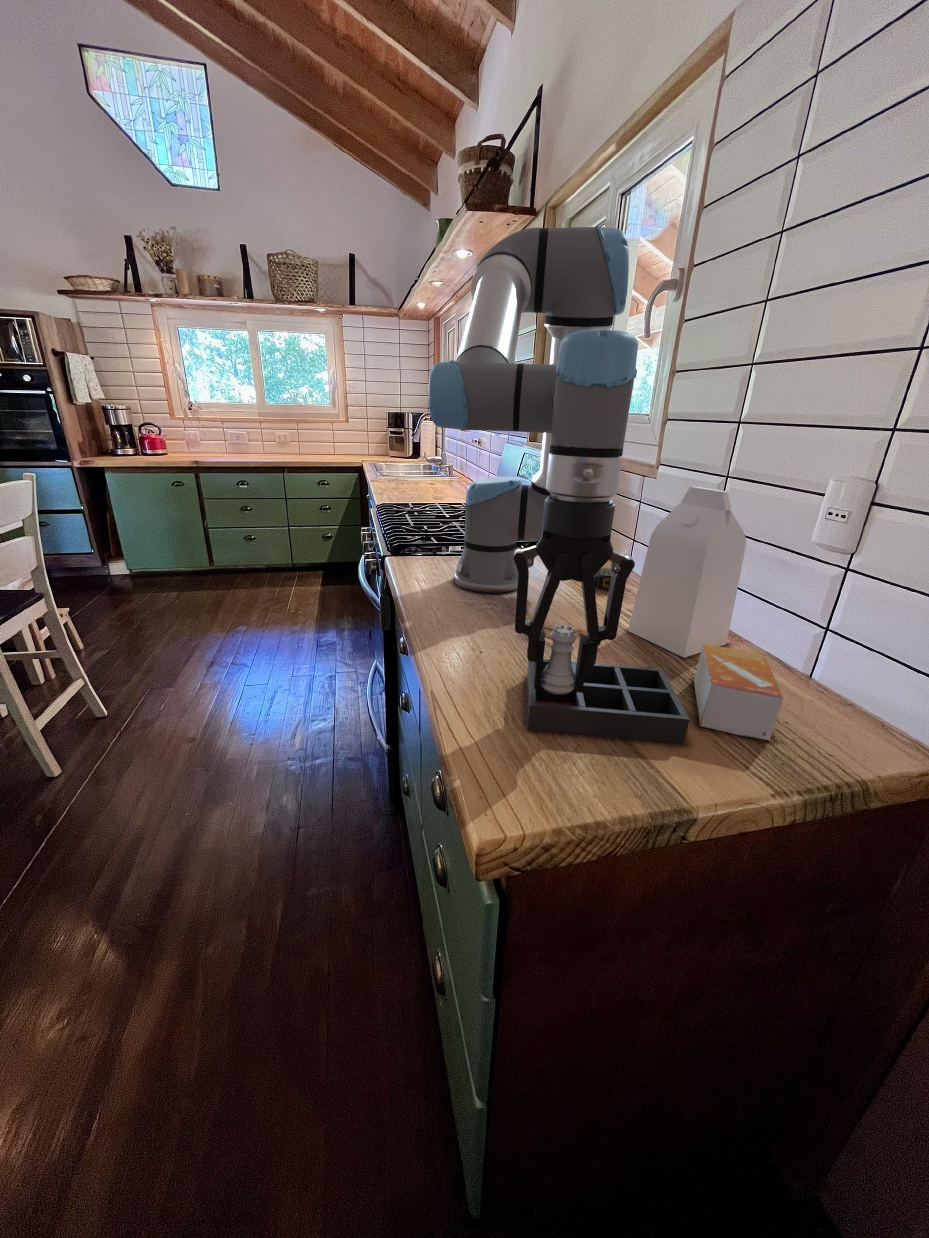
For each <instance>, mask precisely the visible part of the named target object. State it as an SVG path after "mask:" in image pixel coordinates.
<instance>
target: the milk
mask: <svg viewBox="0 0 929 1238" xmlns="http://www.w3.org/2000/svg"><path fill="white" fill-rule="evenodd" d="M731 510H732V507H731V501H730V494H729V491H728V490H721V489H714V488H708V487H703V486H694V485H693V486H689V488H688V489H687V491H686V492H685V494H684V496H683V498H682V499H681V501H680V503H678V504H677V505H676V506H675V507H674V508H673V509H672V510H671V511H670V512H669V513H668V514H667V515H666V516H665V517H663V519H662V520H661V521H660V522H659V523H658V524H657V525H656V526H655V528H654V529H653V531H652V532H651V535H650V537H649V542H648V545H647V550H646V555H645V558H644V561H643V566H642V570H641V575H640V579H639V583H638V587H637V591H636V596H635V600H634V603H633V607H632V612H631V617H630V620H629V625H628V627H627V628H628V629H627V632H628V633H631V634H634V635H636V636H638V637H640V638H642V639H644V640H646V641H647V642H650V643H653V644H654V645H656V646H658V647H660V648H663V649H665V650H667V651H669V652H671V653H673V654H675V655H677V656H680V657H682V658H684V659H685V658H687V657H691V656H695V655H697V654H701V650H702V646H703V644H707V645H713V646H719V647H723V646H725V645H727V643H728V640H729V633H730V628H731V622H732V618H733V613H734V609H735V603H736V598H737V593H738V587H739V584H740V583H739V582H740V578H741V573H742V568H743V563H744V558H745V553H746V548H747V538H746V534H745V532H744V530H743V528H742V527H741V525H740V523H739V522H738V520H737V518H736V516H735V515H734V513H733V511H731Z"/></svg>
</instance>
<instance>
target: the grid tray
mask: <svg viewBox="0 0 929 1238" xmlns="http://www.w3.org/2000/svg"><path fill="white" fill-rule="evenodd" d="M549 660H550V659H547V658H543V667H542V672H543V670H544V669H545V667H546V666H547V665H548V663H549ZM527 661H528V660H527ZM576 664H577V661H573V660H571V666H572V668H573V672H574V674H575V672H576ZM534 669H535V662H530V661H528V662H527V672H526V717H527V718H526V721H527V723H526V724H527V725H526V726H527V727H526V728H527V730H528V731H540V732H550V733H561V734H571V735H572V734H573V735H583V736H594V737H605V738H615V739H625V740H637V741H648V742H659V743H670V744H678V745H679V744H680V745H684V744H685V741H686V736H687V732H688V728H689V725H690V716H689V715H688V714H687V711H686V710H685V708H684V706H683V704H682V703H681V701H680V699H679V697H678V695H677V693H676V691H675V690H674V688H673V686H672V684H671V682H670V681H669V678H668V676H667V675H666V673H665V671H664V669H663V668H660V667H659V668H658V667H647V666H633V665H622V664H611V663H610V664H609V663H597V662H596V663H595V664H594V666H586V671H585V678H584V685H583V692H582V693H581V692H576V688H575V689H574V690H572V691H571V692H569V693H568V694H554V693H550V692H548V691H546V690H545V689H544V688H543V687H542V685H541V686H540V689H534ZM541 678H542V677H541Z"/></svg>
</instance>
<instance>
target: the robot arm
mask: <svg viewBox="0 0 929 1238" xmlns="http://www.w3.org/2000/svg"><path fill="white" fill-rule="evenodd" d="M628 242H629V241H628V238H627V235H626V233H625V232H624V231H623V230H622V229H620V228H617V227H616V228H615V227H606V226H599V225H596V226H581V227H580V226H577V227H528V228H524V229H521V230H518V231H515V232H513V233H511V234H509V235H508V236H506V237H504V238H503V239H501V240H500V241H498V242H497V243H496V244H494V245H493V246H491V248H490V249H488V250H487V251H486V252H485V254H483V256H482V258H481V259H480V260H479V261H478V264H477V265H476V267H475V270H474V272H473V276H472V279H471V283H470V297H471V301H472V303H471V305H470V309H469V313H468V317H467V318H466V319H467V320H466V322H465V326H464V330H463V334H462V336H461V340H460V344H459V346H458V347H459V348H458V351H457V354H456V358H455V359H450V360H449V361H439V362H437V363H434V364H433V366H432V367H431V369H430V373H429V378H428V389H427V390H428V397H427V398H428V410H429V416H430V419H431V422H432V423H433V425H435V426H436V427H438V428H441V429H452V430H459V431H461V432H466V431H486V432H487V431H490V432H491V431H492V432H517V433H538V434H542V445H541V455H540V465H539V470H538V471H537V472H536V473H534V474H533V475H532V477H531V484H523V482H522V478H521V477H520V476H496V477H495V476H494V477H488V478H481V479H477V480H473V481H471V482H470V483H469V484H467V487H466V493H465V502H464V509H465V510H464V536H463V540H464V541H463V550H462V554H461V556H460V558H459V560H458V561H457V564H456V570H455V572H454V583H455V585H457V586H458V587H460V588H462V589H464V590H468V591H472V592H477V593H485V594H500V593H508V592H509V593H510V592H512V591H516V600H515V601H516V602H515V618H514V631H515V633H517V634H520V635H521V634H523V635H525V636H526V637H527V639H528V640H527V650H526V659H527V661H530V662H535V669H534V689H540V686H541V676H542V667H543V659H545V657H544V656H545V647H546V636H545V635H546V634H545V632H544V631H543V628H544V625H545V623H546V620H547V617H548V614H549V612H550V608H551V606H552V603H553V601H554V597H555V595H556V591H557V590H558V588H559V586H560V583H561V582H566V581H574V582H578V583H580V584H581V591H582V599H583V608H584V616H585V617H584V618H585V625H586V626H585V627H586V635H585V634H580V635H579V644H578V650H577V657H576V662H577V664H576V672H575V676H576V681H575V685H576V686H575V688H576V692H581V693H582V692H583V685H584V678H585V671H586V666H594V664H595V663H597V655H598V650H599V646H600V645H601V643H602V641H606V640H608V641H614V640H615V639H616V637H617V634H618V629H619V623H620V617H621V612H622V607H623V601H624V597H625V596H624V595H625V590H626V585H627V580H628V578H629V577H630V575H631V573H632V572H633V570H634V568H635V565H636V563H635V560H634V559H633V558H632V557H631V555H630V554H628V553H620V552H618V551H616V550H614V547H613V544H612V541H611V539H612V538H611V537H612V531H613V523H614V517H615V511H616V503H615V501H614V500H613V499H611V498H613V497H614V496H615V495H617V494H618V490H619V484H620V483H619V482H620V477H621V476H620V474H621V467H622V460H623V454H624V446H625V439H626V433H627V426H628V420H629V413H630V408H631V401H632V396H633V389H634V382H635V379H636V378H637V374H638V369H637V359H638V352H639V351H638V349H639V342H638V339H637V337H636V336H635V335H634V334H633V333H631V332H627V331H622V330H614V329H612V328H613V326H614V319H615V316H619V315H622V314H623V313H624V312H625V309H626V306H627V305H626V304H627V303H626V302H627V296H628V289H629V274H630V273H629V272H630V271H629V268H630V267H629V266H630V260H629V259H630V257H629V256H630V255H629V243H628ZM523 313H534V314H544V315H545V318H544V327H545V329H546V330H547V331H548V332H549V334H550V336H551V347H550V357H549V363H548V364H547V363H521V362H519V363H516V362H515V359H516V353H517V346H518V338H519V333H520V326H521V319H522V314H523ZM517 540H518V541H531V542H533V541H534V542H536V543H535V545H532V546H530V547H525V548H522V547H517V542H518V541H517ZM537 556H538V557H539V559H540V560H541V562H542V564H543V565H544V567H545V568H546V570H547V573H546V576H545V580H544V583H543V586H542V589H541V592H540V594H539V598H538V600H537V603H536V606H535V609H534V611H533V614H532V618H531V620H526V619H527V606H528V593H529V580H530V579H529V578H530V570H529V569H530V568H532V567H533V566H534V565H535V558H536V557H537ZM608 561H610V564H609V567H610V568H609V569H611V570H612V571H613V572H612V576H611V581H610V587H609V589H608V593H607V600H606V604H605V605H606V606H605V612H604V617H603V622H602V623H603V624H602V625H599V617H598V608H597V597H596V588H595V582H594V575H595V574H596V573H597V572H598V571H599V570H600V569H603V568H604V566H605V565H606V564H607V563H608Z"/></svg>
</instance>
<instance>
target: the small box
mask: <svg viewBox="0 0 929 1238" xmlns="http://www.w3.org/2000/svg"><path fill="white" fill-rule="evenodd" d="M699 654H700V655H699V659H698V663H697V666H696V671H695V675H694V679H693V683H694V692H695V697H696V705H697V712H698V720H699V726H700V727H703V728H705V729H711V730H715V731H720V732H723V733H729V734H732V735H737V736H743V737H748V738H754V739H760V740H765V741H771V738H772V735H773V731H774V728H775V725H776V722H777V718H778V715H779V713H780V709H781V707H782V703H783V700H784V697H783V695H782V692H781V690H780V687H779V686H778V683H777V680H776V678H775V676H774V674H773V671H772V669H771V667H770V664H769V663H768V660H767V658H766V655H765V653H763V652H756V651H749V650H742V649H735V648H729V647H726V646H725V647H724V646H713V645H707V644H703V646H702V650H701V652H700V653H699Z"/></svg>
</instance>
